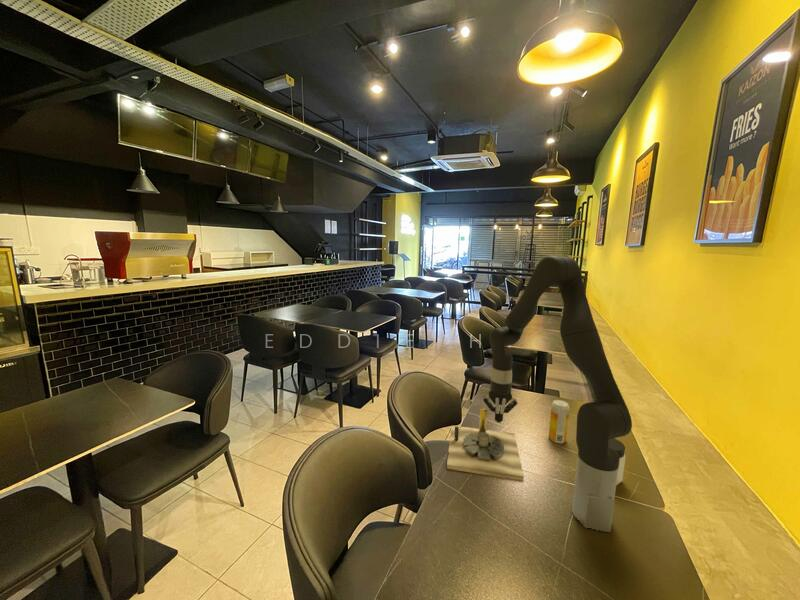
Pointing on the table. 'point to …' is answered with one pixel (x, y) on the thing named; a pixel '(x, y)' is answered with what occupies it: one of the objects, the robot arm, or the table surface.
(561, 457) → the table surface
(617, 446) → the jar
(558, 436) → the orange white canister
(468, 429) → the base
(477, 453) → the flange
